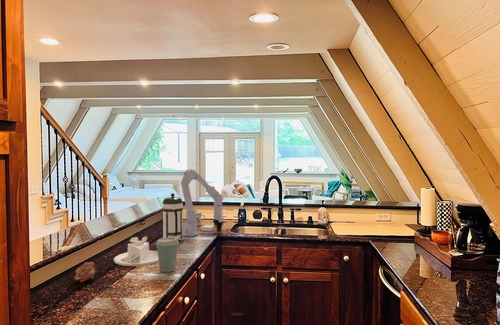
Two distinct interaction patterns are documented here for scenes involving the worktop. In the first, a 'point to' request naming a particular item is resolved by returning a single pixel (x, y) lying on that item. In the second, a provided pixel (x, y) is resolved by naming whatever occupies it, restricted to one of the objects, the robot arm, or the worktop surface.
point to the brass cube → (216, 230)
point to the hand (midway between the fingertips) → (218, 230)
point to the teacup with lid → (199, 217)
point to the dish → (137, 254)
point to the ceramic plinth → (207, 228)
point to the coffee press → (173, 217)
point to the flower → (85, 271)
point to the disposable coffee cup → (167, 253)
